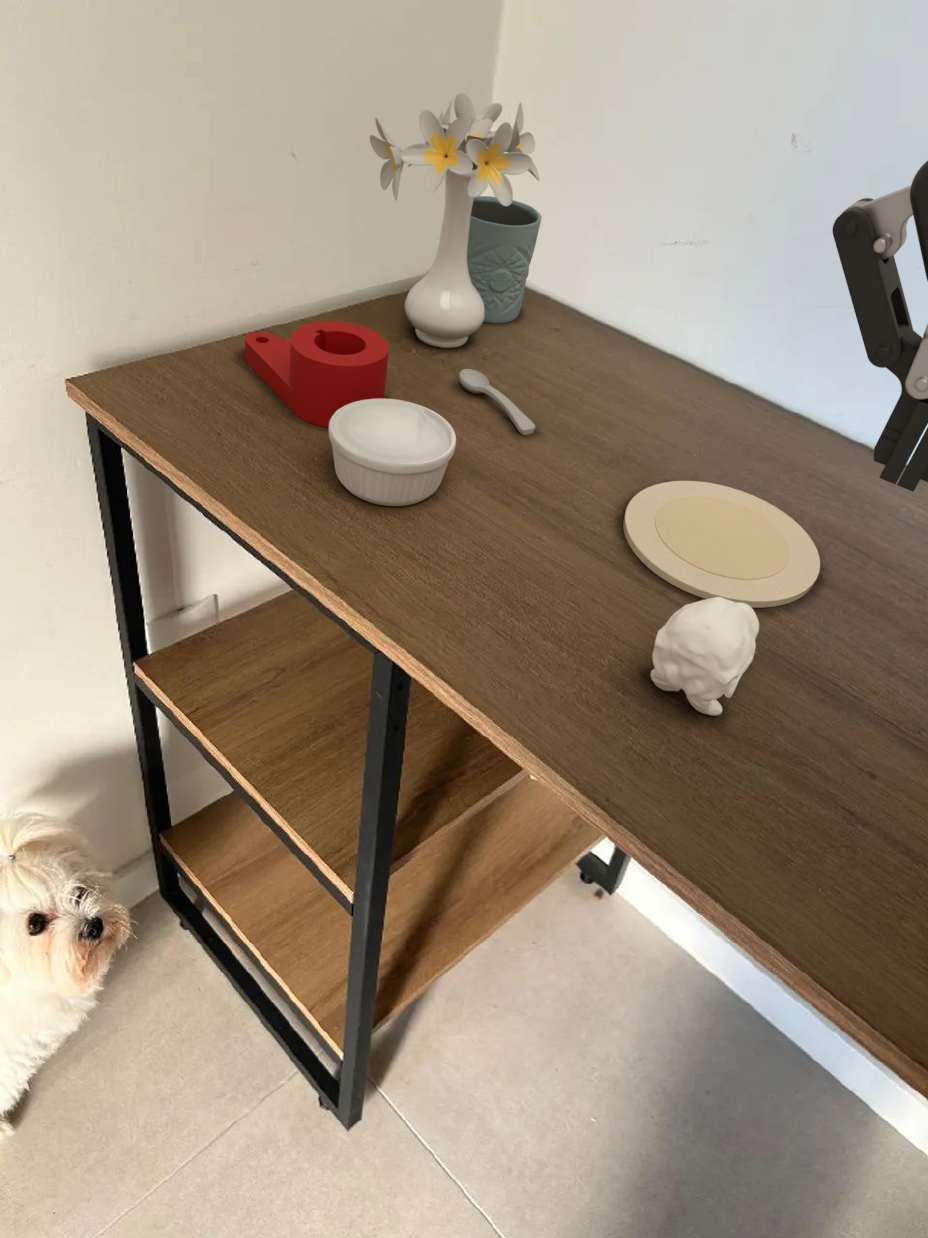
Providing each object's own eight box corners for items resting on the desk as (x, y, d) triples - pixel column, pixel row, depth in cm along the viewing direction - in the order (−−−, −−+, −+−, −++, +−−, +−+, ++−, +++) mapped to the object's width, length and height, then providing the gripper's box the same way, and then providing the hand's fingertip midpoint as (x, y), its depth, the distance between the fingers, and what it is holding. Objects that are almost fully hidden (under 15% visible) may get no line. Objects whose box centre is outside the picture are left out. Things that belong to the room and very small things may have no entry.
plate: (839, 540, 88) (843, 532, 88) (783, 638, 76) (787, 630, 76) (667, 466, 94) (670, 458, 94) (589, 546, 82) (592, 538, 81)
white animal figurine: (664, 602, 63) (731, 543, 72) (626, 694, 68) (693, 629, 77) (748, 648, 61) (807, 582, 69) (702, 741, 66) (763, 668, 74)
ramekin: (471, 501, 85) (480, 451, 81) (360, 526, 79) (364, 474, 76) (412, 438, 91) (418, 389, 88) (307, 457, 86) (308, 407, 83)
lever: (402, 410, 95) (408, 349, 91) (334, 438, 89) (337, 375, 85) (285, 341, 103) (286, 282, 98) (215, 363, 97) (213, 301, 92)
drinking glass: (499, 333, 112) (516, 232, 104) (428, 305, 115) (440, 205, 107) (537, 309, 119) (556, 212, 111) (470, 283, 122) (484, 188, 114)
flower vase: (341, 325, 108) (354, 83, 91) (471, 306, 117) (505, 83, 100) (399, 376, 100) (425, 124, 84) (533, 352, 109) (580, 119, 93)
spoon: (472, 377, 102) (476, 360, 101) (538, 437, 96) (542, 421, 95) (450, 381, 101) (454, 365, 99) (515, 443, 95) (520, 426, 93)
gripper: (1404, 26, 28) (1073, 503, 39) (957, -66, 32) (776, 389, 43) (1454, 47, 23) (1056, 590, 34) (914, -65, 27) (721, 450, 38)
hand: (899, 476), depth 39 cm, fingers closed
